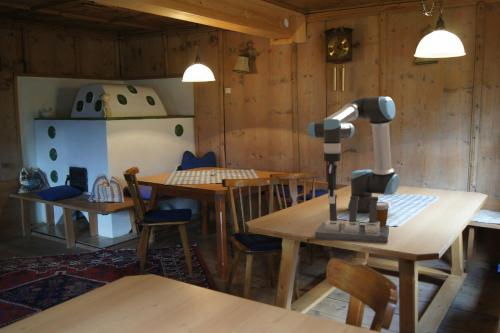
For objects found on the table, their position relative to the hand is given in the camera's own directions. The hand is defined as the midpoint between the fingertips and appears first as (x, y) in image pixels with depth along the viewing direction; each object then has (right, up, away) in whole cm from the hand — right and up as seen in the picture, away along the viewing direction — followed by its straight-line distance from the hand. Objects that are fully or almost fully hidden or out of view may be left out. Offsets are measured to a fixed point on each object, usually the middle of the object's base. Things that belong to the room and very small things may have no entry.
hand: (331, 203), depth 220 cm
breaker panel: (+10, -15, +3) cm, 19 cm away
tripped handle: (+2, -8, +5) cm, 10 cm away
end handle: (+19, -8, -1) cm, 20 cm away
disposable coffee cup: (+26, -13, +16) cm, 33 cm away
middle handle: (+10, -8, +2) cm, 13 cm away
